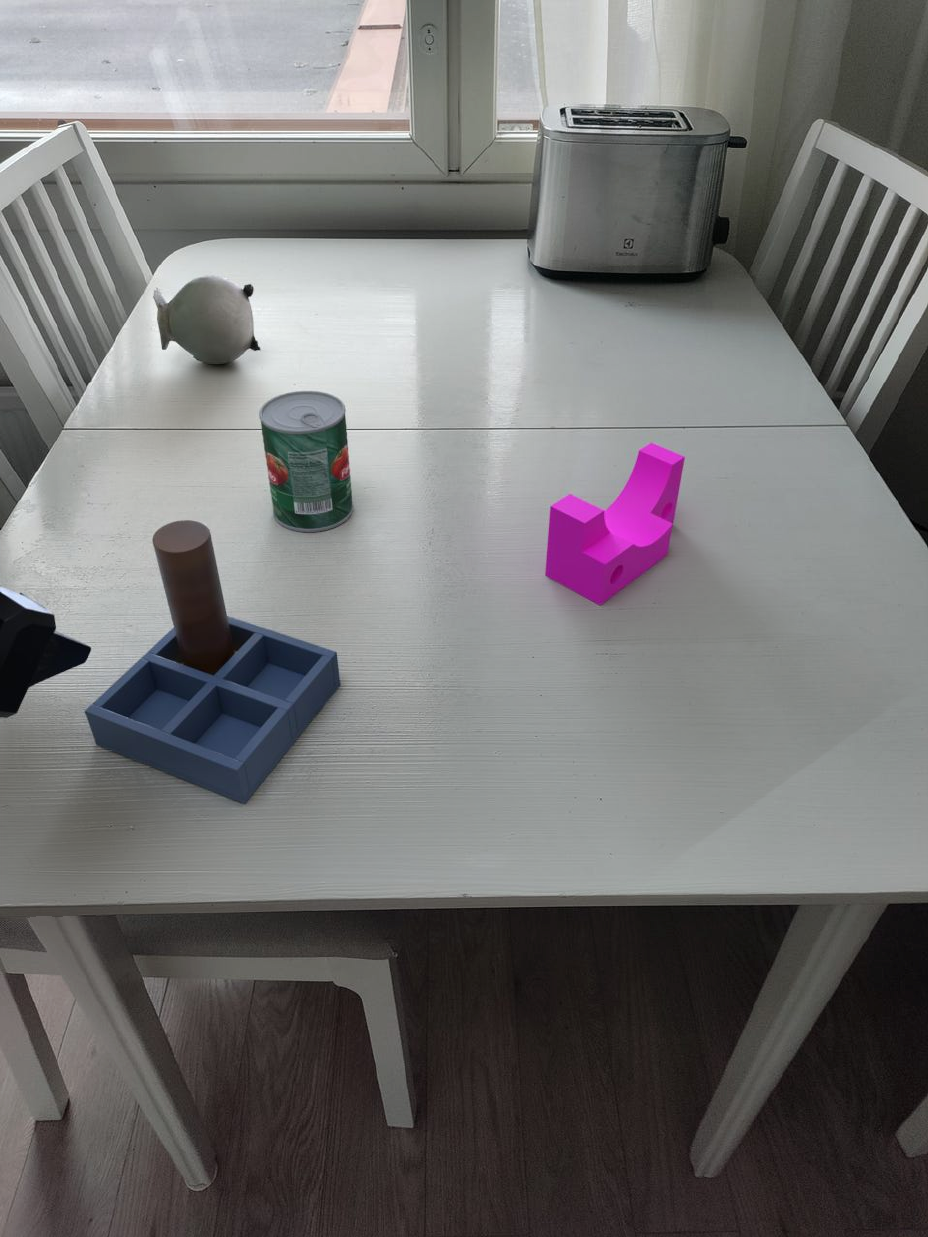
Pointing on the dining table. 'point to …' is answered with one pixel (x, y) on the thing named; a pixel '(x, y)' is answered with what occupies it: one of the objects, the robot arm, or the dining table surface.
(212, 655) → the brown wooden dowel
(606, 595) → the toy block
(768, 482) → the dining table surface
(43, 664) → the robot arm
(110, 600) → the dining table surface
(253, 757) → the grid
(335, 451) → the canned tomato
